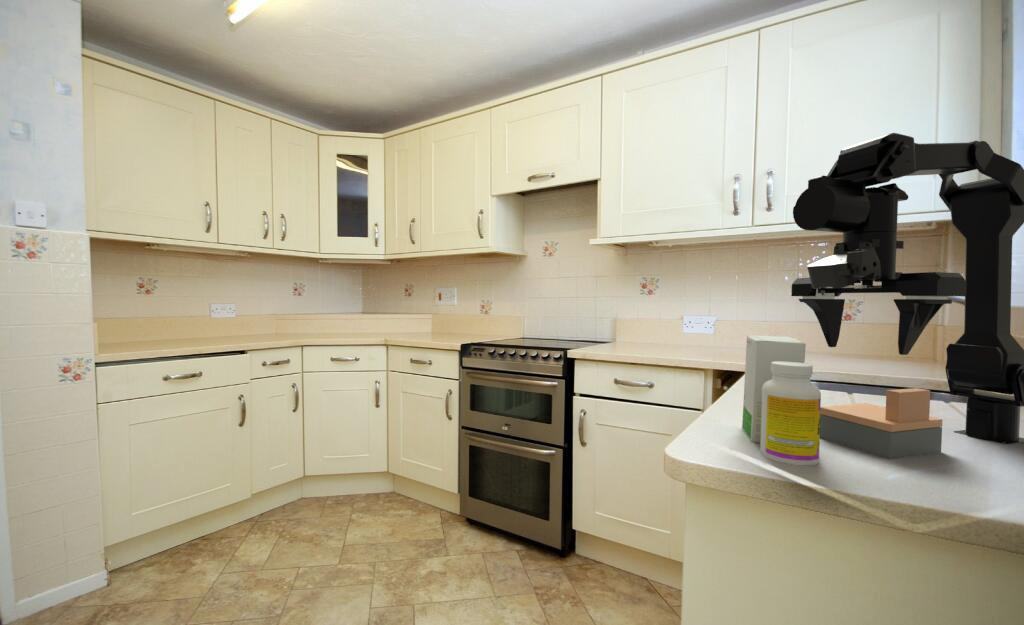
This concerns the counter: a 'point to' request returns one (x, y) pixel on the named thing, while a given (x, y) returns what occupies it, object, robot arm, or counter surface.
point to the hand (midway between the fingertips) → (865, 350)
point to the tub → (881, 438)
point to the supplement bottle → (790, 415)
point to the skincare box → (764, 374)
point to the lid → (890, 411)
